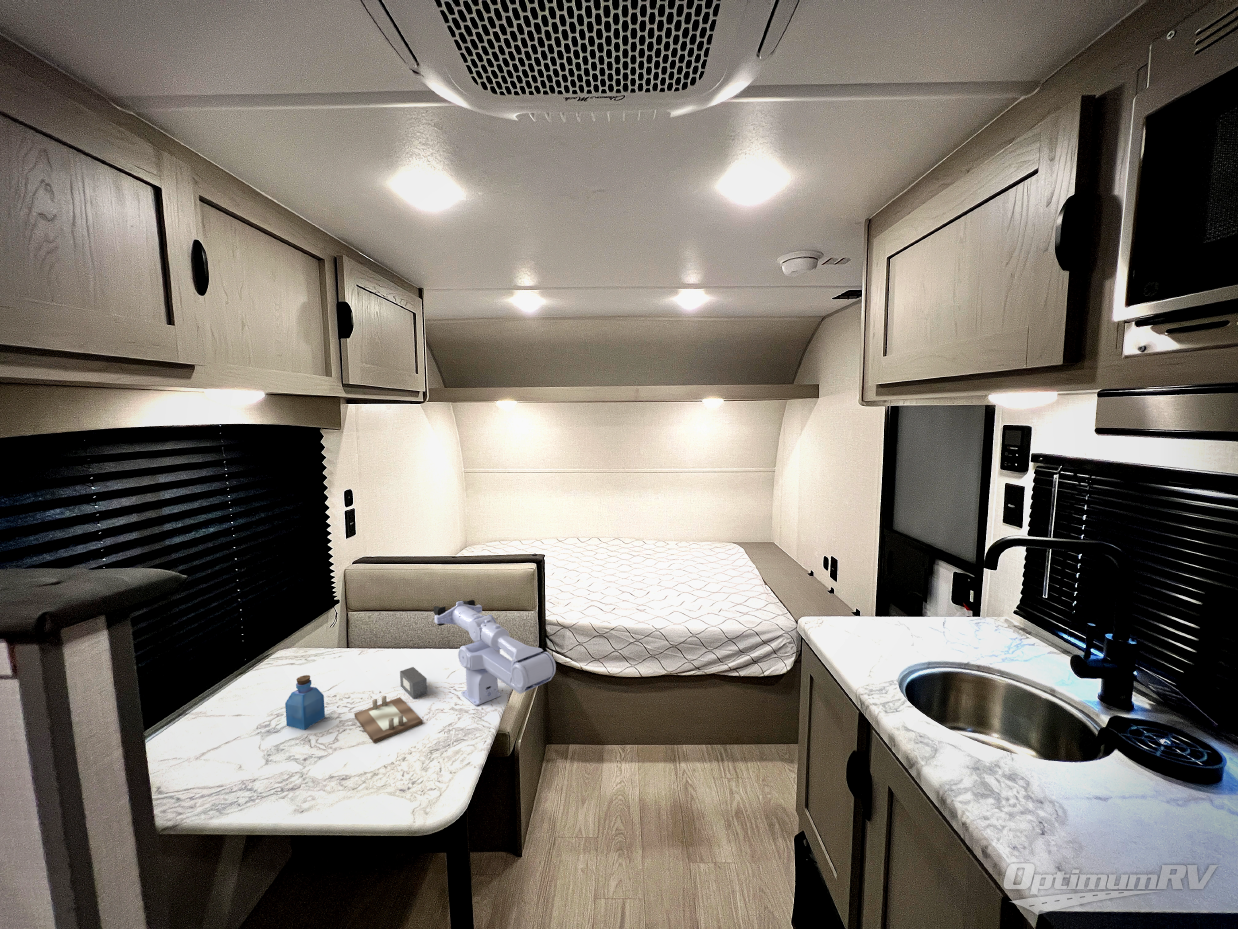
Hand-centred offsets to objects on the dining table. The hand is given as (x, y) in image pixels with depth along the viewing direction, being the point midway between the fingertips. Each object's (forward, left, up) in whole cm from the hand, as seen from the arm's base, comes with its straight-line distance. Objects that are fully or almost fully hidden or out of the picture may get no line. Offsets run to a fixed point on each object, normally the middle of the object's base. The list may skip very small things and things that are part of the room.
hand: (446, 606), depth 160 cm
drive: (-3, +13, -22) cm, 25 cm away
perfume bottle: (+1, +40, -22) cm, 45 cm away
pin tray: (-14, +24, -21) cm, 35 cm away
